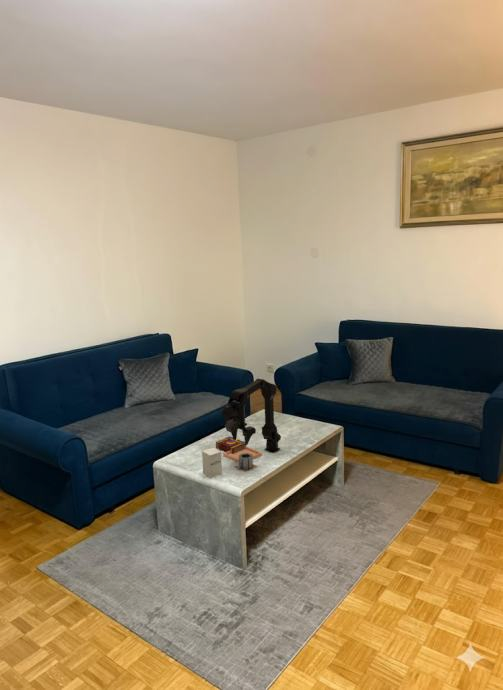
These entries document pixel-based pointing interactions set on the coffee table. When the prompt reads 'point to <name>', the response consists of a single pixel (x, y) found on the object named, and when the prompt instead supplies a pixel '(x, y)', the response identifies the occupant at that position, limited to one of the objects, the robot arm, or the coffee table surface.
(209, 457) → the supplement box
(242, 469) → the square plate with peg
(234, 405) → the robot arm
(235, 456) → the tray
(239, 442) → the decorative book
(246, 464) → the grey tankard
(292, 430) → the coffee table surface
